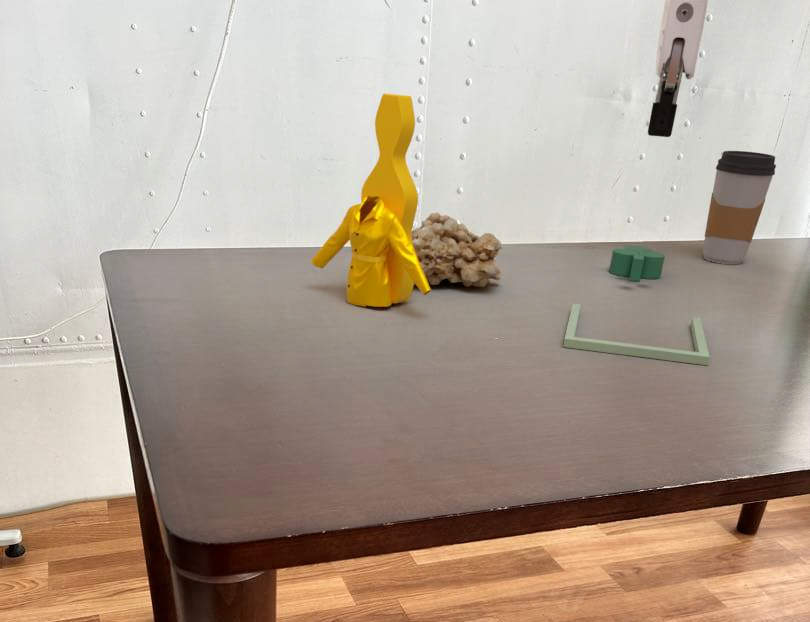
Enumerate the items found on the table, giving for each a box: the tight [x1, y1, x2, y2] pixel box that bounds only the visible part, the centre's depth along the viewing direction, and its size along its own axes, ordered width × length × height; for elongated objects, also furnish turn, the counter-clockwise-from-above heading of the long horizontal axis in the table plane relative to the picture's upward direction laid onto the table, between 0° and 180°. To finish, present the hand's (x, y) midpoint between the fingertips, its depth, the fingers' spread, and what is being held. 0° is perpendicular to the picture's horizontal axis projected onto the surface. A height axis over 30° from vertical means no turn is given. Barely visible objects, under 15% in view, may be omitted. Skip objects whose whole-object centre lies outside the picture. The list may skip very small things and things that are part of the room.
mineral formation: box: [412, 212, 503, 288], centre depth 107 cm, size 8×13×15 cm
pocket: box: [562, 303, 710, 366], centre depth 92 cm, size 14×15×1 cm
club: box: [608, 245, 666, 282], centre depth 116 cm, size 8×7×3 cm
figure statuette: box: [310, 93, 432, 308], centre depth 92 cm, size 18×8×22 cm, turn 53°
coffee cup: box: [701, 150, 777, 265], centre depth 123 cm, size 8×8×15 cm
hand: (658, 135), depth 115 cm, fingers closed
